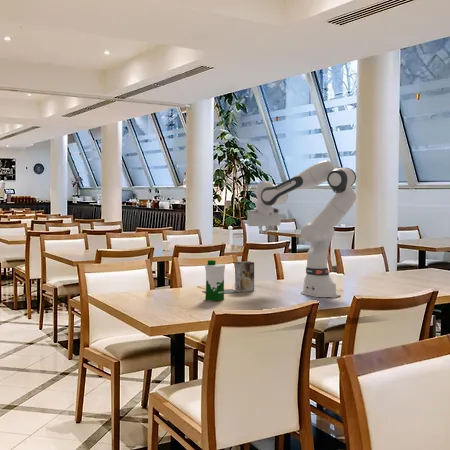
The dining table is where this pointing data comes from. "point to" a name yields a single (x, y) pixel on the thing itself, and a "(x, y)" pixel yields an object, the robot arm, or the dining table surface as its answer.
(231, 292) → the mat
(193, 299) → the dining table surface
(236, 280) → the coffee box
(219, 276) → the milk carton
